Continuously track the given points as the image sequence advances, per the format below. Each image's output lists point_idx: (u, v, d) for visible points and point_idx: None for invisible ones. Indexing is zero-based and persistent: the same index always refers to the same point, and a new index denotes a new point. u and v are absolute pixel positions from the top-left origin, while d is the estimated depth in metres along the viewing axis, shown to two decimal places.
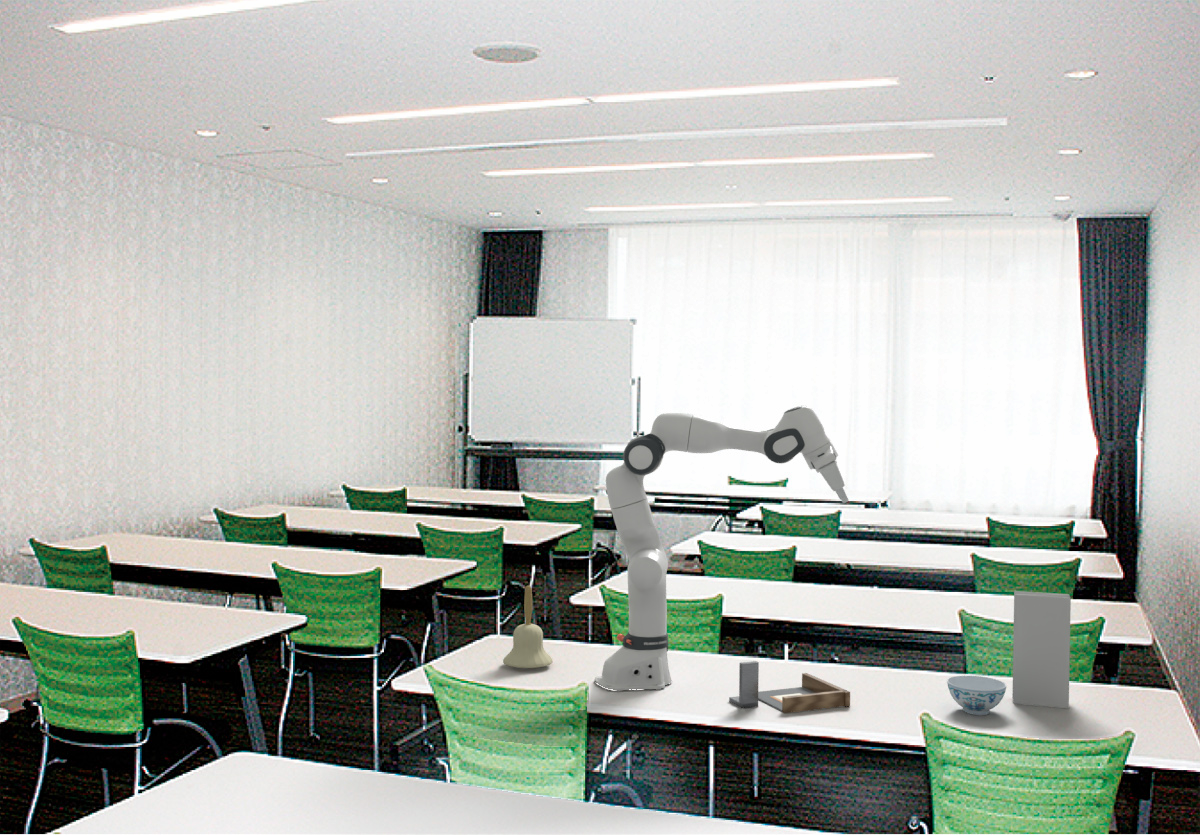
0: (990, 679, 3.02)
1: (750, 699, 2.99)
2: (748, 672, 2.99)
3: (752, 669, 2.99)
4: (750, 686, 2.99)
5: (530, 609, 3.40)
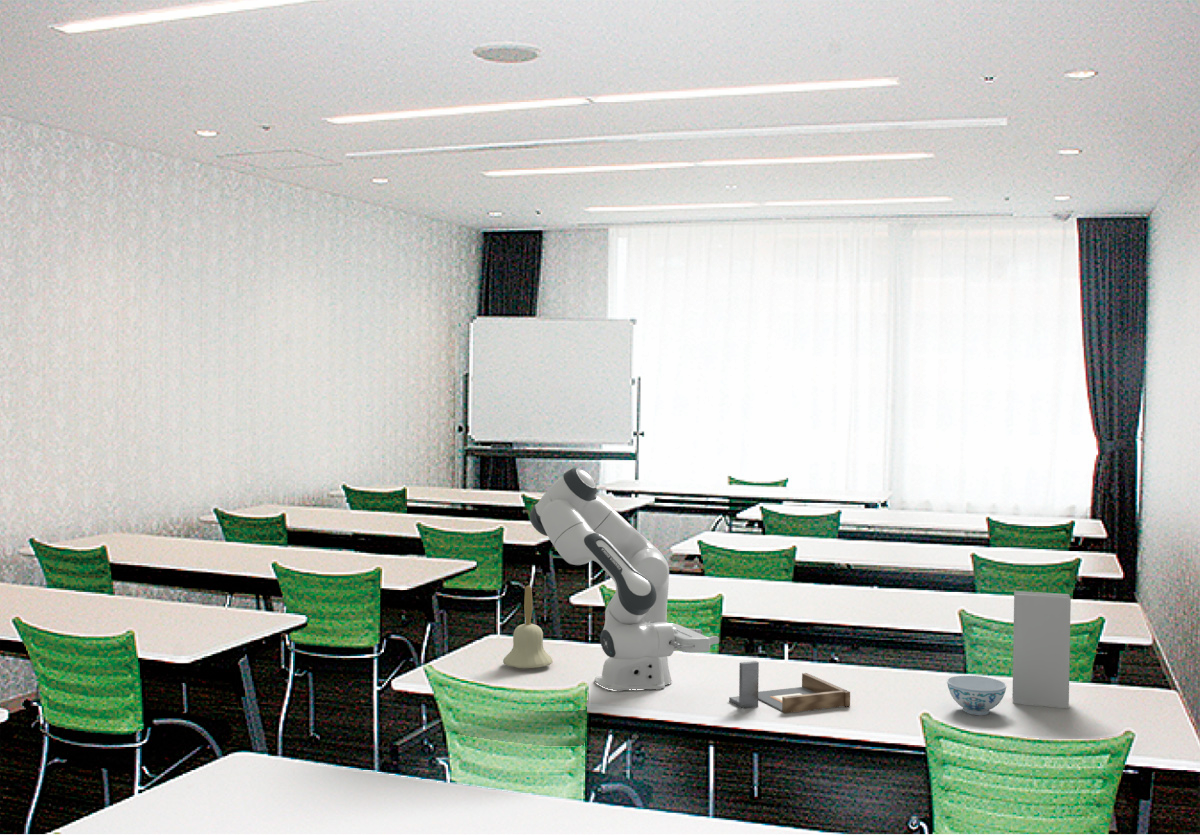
0: (990, 679, 3.02)
1: (750, 699, 2.99)
2: (748, 672, 2.99)
3: (752, 669, 2.99)
4: (750, 686, 2.99)
5: (530, 609, 3.40)
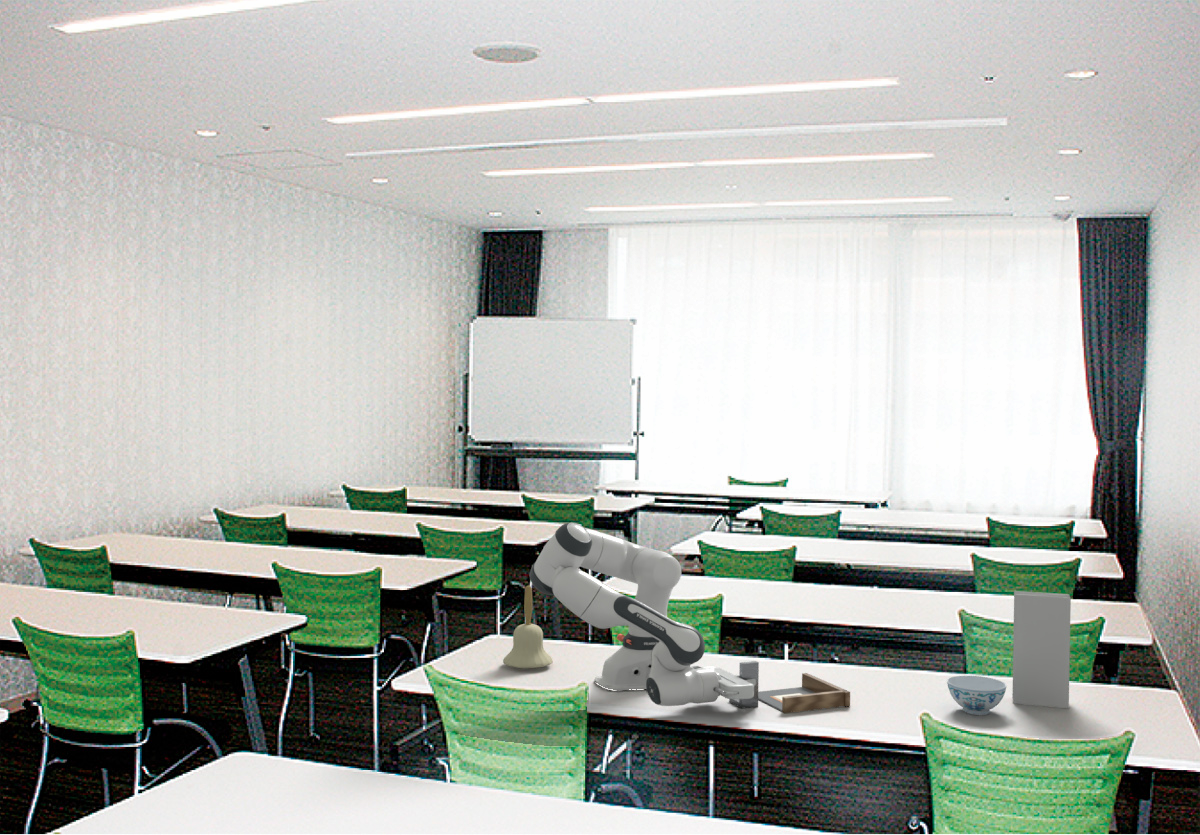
0: (990, 679, 3.02)
1: (750, 699, 2.99)
2: (748, 672, 2.99)
3: (752, 669, 2.99)
4: None
5: (530, 609, 3.40)
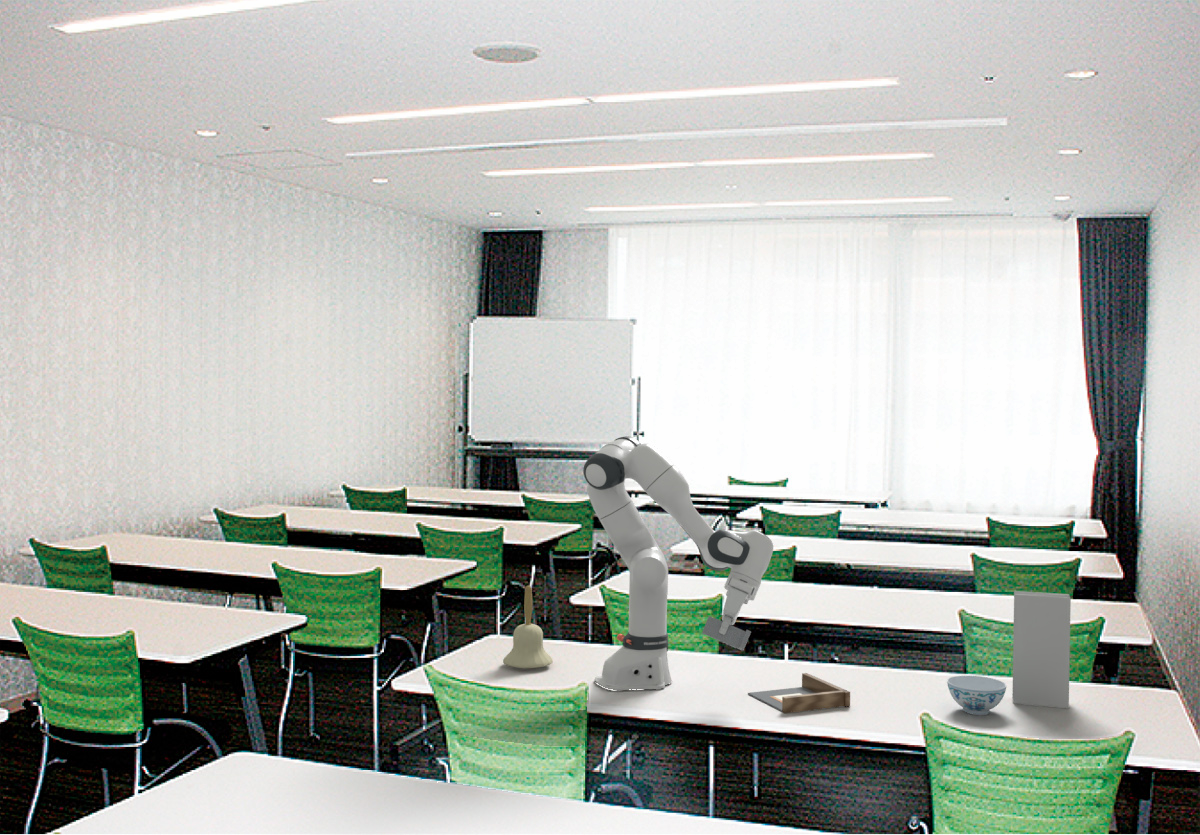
0: (990, 679, 3.02)
1: None
2: None
3: None
4: None
5: (530, 609, 3.40)
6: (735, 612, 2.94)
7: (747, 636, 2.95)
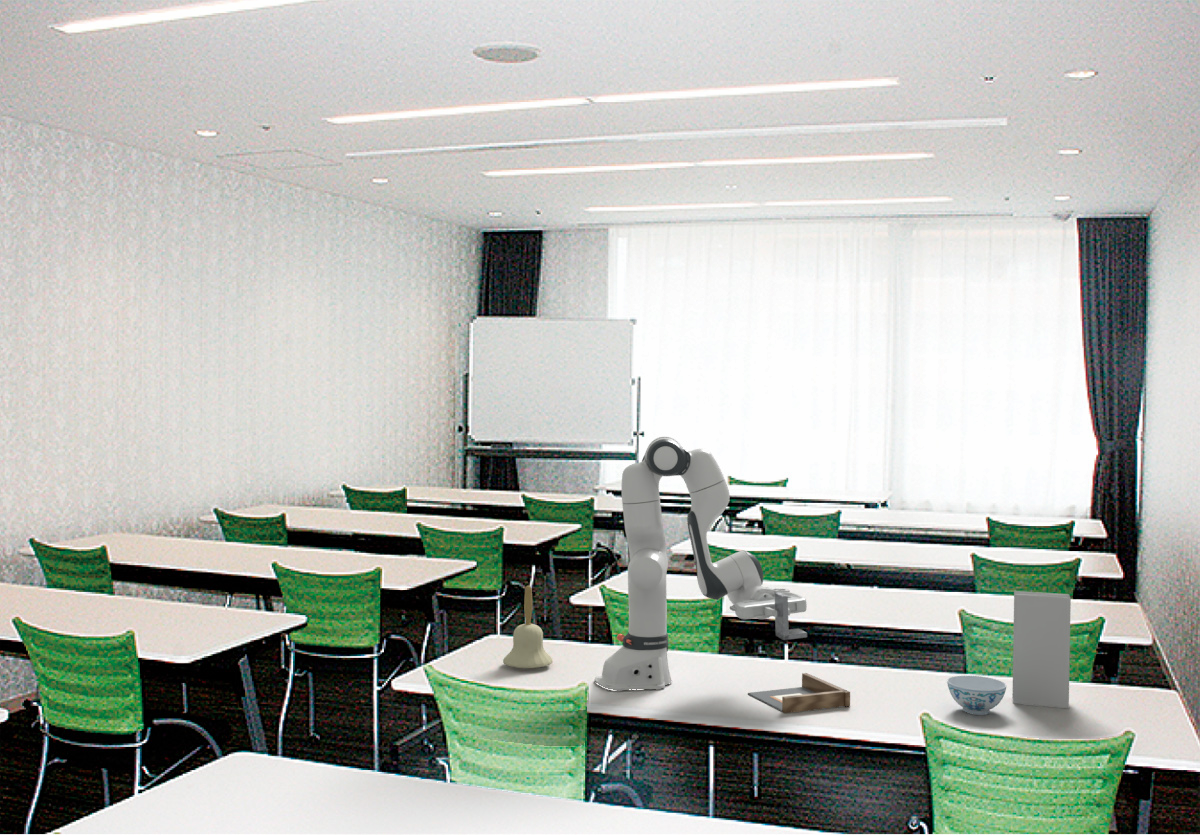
0: (990, 679, 3.02)
1: (779, 630, 3.04)
2: (777, 602, 3.04)
3: (779, 601, 3.03)
4: (779, 617, 3.04)
5: (530, 609, 3.40)
6: None
7: None
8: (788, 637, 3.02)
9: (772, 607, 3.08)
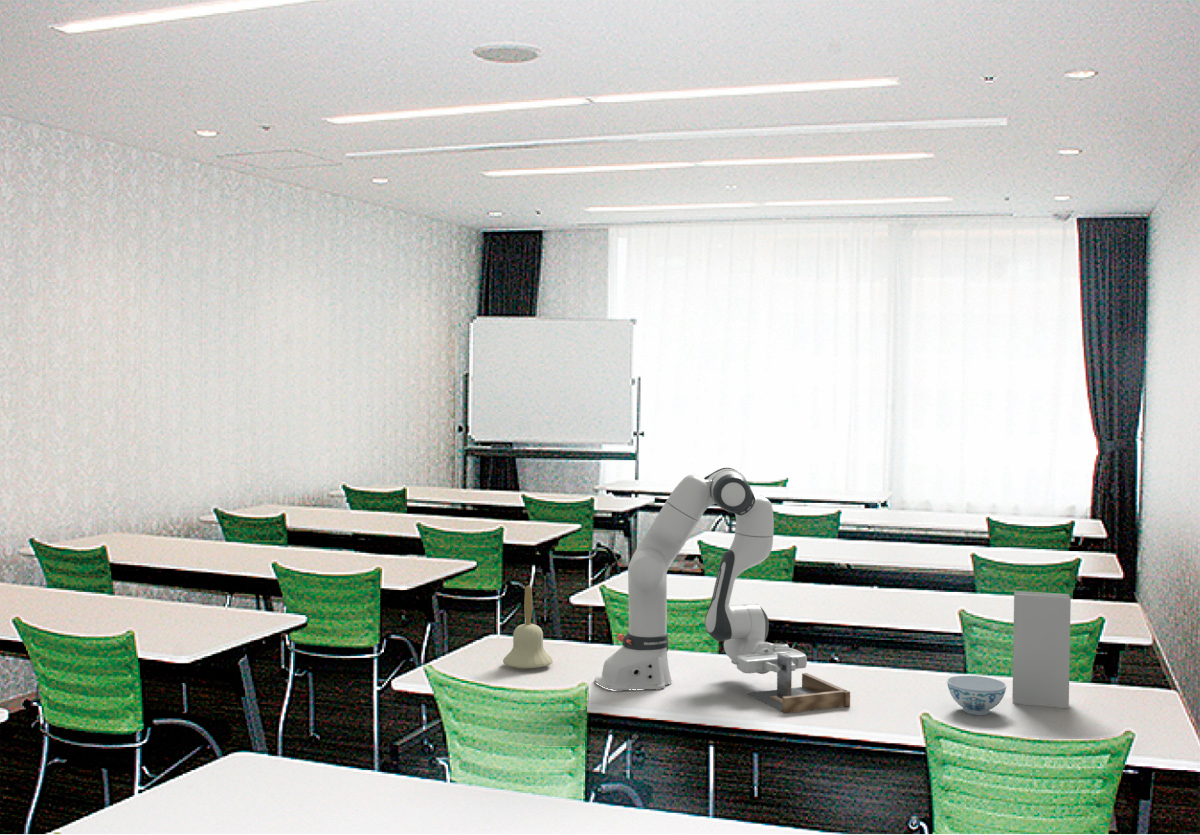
0: (990, 679, 3.02)
1: (782, 691, 3.06)
2: (781, 663, 3.06)
3: (783, 662, 3.05)
4: (782, 678, 3.06)
5: (530, 609, 3.40)
6: None
7: None
8: None
9: (774, 662, 3.10)
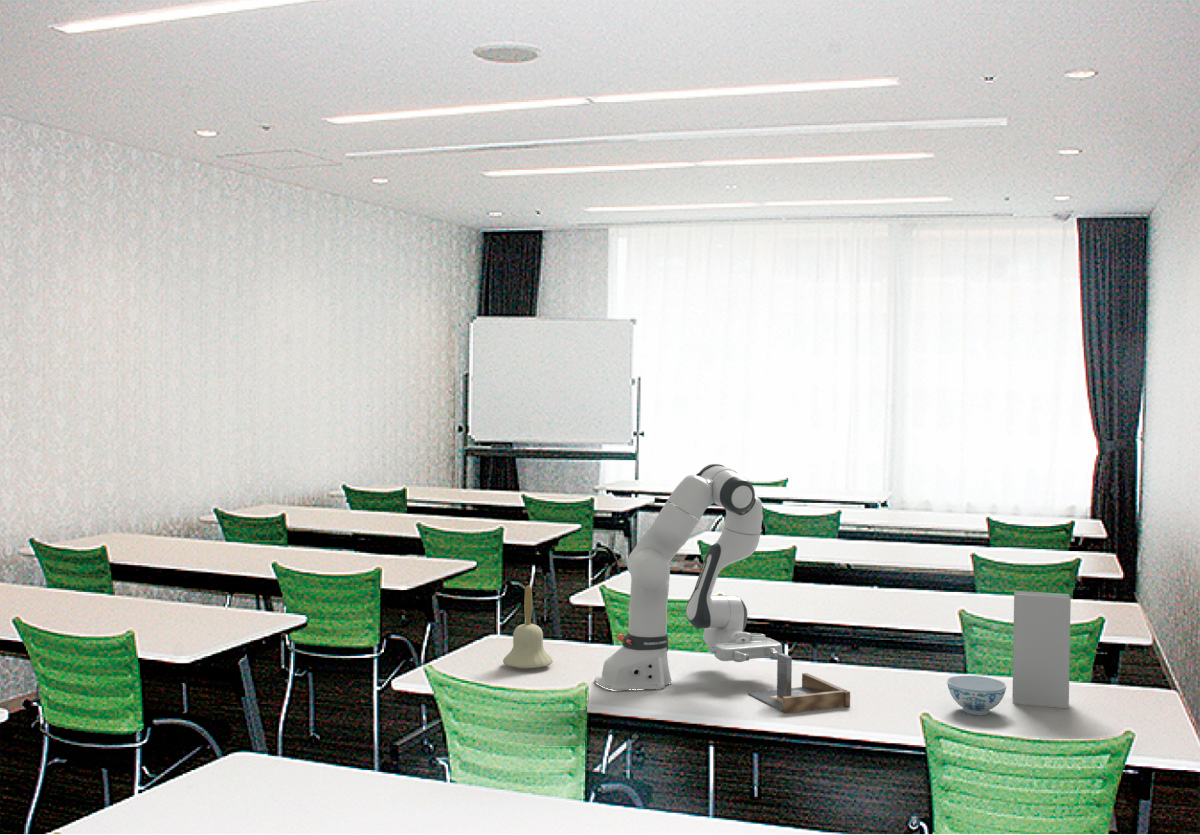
0: (990, 679, 3.02)
1: (782, 691, 3.06)
2: (781, 663, 3.06)
3: (783, 662, 3.05)
4: (782, 678, 3.06)
5: (530, 609, 3.40)
6: None
7: None
8: None
9: (750, 650, 3.22)
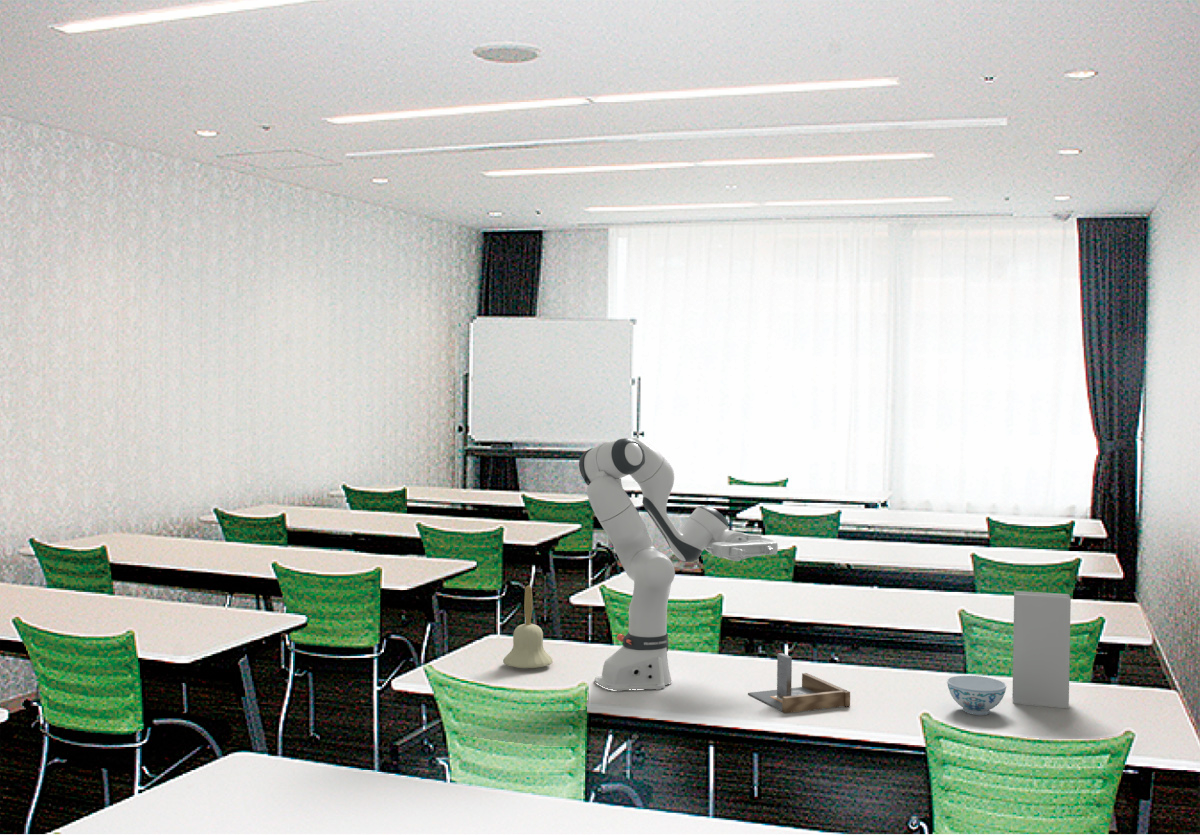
0: (990, 679, 3.02)
1: (782, 691, 3.06)
2: (781, 663, 3.06)
3: (783, 662, 3.05)
4: (782, 678, 3.06)
5: (530, 609, 3.40)
6: None
7: None
8: None
9: (747, 548, 3.30)
